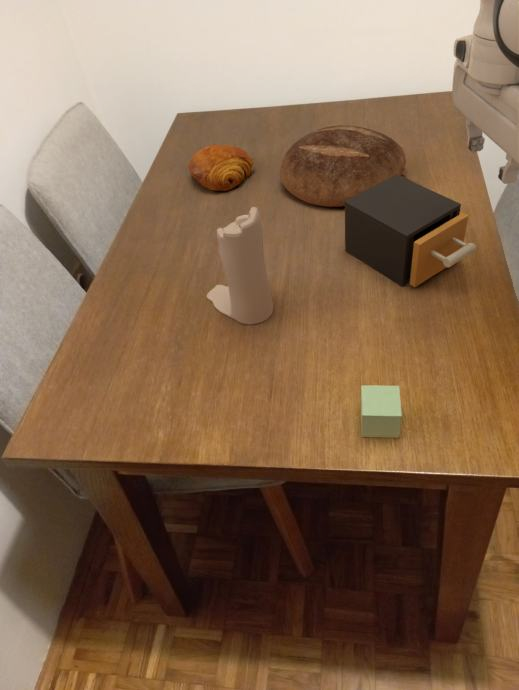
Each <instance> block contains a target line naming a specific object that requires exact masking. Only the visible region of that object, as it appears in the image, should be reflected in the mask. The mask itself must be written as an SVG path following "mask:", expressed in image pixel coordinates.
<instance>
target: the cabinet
mask: <svg viewBox="0 0 519 690" xmlns="http://www.w3.org/2000/svg"><path fill="white" fill-rule="evenodd" d="M461 208H462V203H460V202H458V201H456V200H453V199H451V198H450V197H447V196H446V195H442V194H440V193H439V192H437V191H433V190H432V189H430V188H428V187H425V186H423V185H421V184H419V183H417V182H415V181H412V180H410V179H408V178H405V177H404V176H403V175H401V176H399V175H397V174H396V175H394V176H392V177H390V178H388V179H387V180H385V181H383V182H381V183H379V184H377V185H375V186H373V187H372V188H370V189H368V190H366V191H364V192H362V193H360V194H358V195H356V196H355V197H353V198H351V199H349V200H347V201H345V206H344V245H345V246H344V250H345V252H347V254H350V255H351V256H353V257H354V258H356V259H357V260H359V261H361V262H362V263H364V264H365V265H366V266H368V267H370V268H371V269H373V270H375V271H376V272H378V273H380V274H381V275H383V276H384V277H385V278H387V279H388V280H390V281H392V282H394V283H395V284H397V285H398V286H400V287H401V288H403V287H405V286H406V285H408V284H410V276H411V275H410V276H408V277H406V272H407V262H408V252H409V242H410V238H411V237H412V236H414V235H416V234H417V233H419V232H421V231H423V230H424V229H426V228H428V227H429V226H431V225H433V224H434V223H436V222H438V221H439V220H441V219H443V218H444V217H446V216H448V215H450V214H451V213H453V218H455V217H457V216H458V215H460V214H461ZM453 218H452V219H453Z"/></svg>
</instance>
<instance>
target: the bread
mask: <svg viewBox="0 0 519 690" xmlns="http://www.w3.org/2000/svg"><path fill="white" fill-rule="evenodd" d="M406 163H407V159H406V154H405V150H404V149H403V147H402V146H401V145H400V144H399V143H398V142H397V141H395V140H394V139H393V138H392V137H390V136H388V135H387V134H384V133H381V132H379V131H377V130H373V129H370V128H365V127H361V126H356V125H331V126H325V127H321V128H318V129H316V130H314V131H312V132H309V133H307V134H305V135H304V136H303V137H301V138H299V139H298V140H297V141H295V142H294V143H293V144H292V145H291V146H290V147H289V148H288V149H287V151H286V152H285V154H284V156H283V158H282V160H281V164H280V170H279V175H280V179H281V183H282V184H283V187H284V188H285V189H286V190H287V192H289V193H290V194H291V195H292V196H294V197H296V198H297V199H298V200H301V201H303V202H305V203H307V204H311V205H314V206H320V207H326V208H327V207H328V208H329V207H333V208H334V207H338V208H339V207H345V201H347V200H349V199H351V198H353V197H355V196H356V195H358V194H360V193H362V192H364V191H366V190H368V189H370V188H372V187H373V186H375V185H377V184H379V183H381V182H383V181H385V180H387V179H388V178H390V177H392V176H394V175H396V174H397V175H399V176H403V173H404V170H405V167H406Z"/></svg>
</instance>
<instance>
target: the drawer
mask: <svg viewBox="0 0 519 690" xmlns="http://www.w3.org/2000/svg"><path fill="white" fill-rule="evenodd" d="M452 218H453V213H451V214H450V215H448V216H446V217H444V218H443V219H441V220H439V221H438V222H436V223H434V224H433V225H431V226H429V227H428V228H426V229H424V230H423V231H421V232H419V233H417V234H416V235H414V236H412V237H411V238H410V242H409V252H408V262H407V272H406V277H408V276H410V275H411V276H410V282H409V285H410V286H411V287H413V288H416V287H418V286H419V285H421V284H423V283H424V282H426V281H427V280H429V279H430V278H432V277H434V276H435V275H437V274H438V273H440V272H441V271H443V270H444V269H447V268H451V267H452V266H454V265H455V264H457V263H459V262H460V261H462V260H463V259H465V258H467V257H469V256H470V255H471V254H473V253H474V252H476V250H477V246H476V245H475V243H473V242H469V243H467V242H465V236H466V232H467V225H468V220H469V214H467V213H465V212H462V213H459V215H458V216H457V217H455V218H453V219H452Z"/></svg>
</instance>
